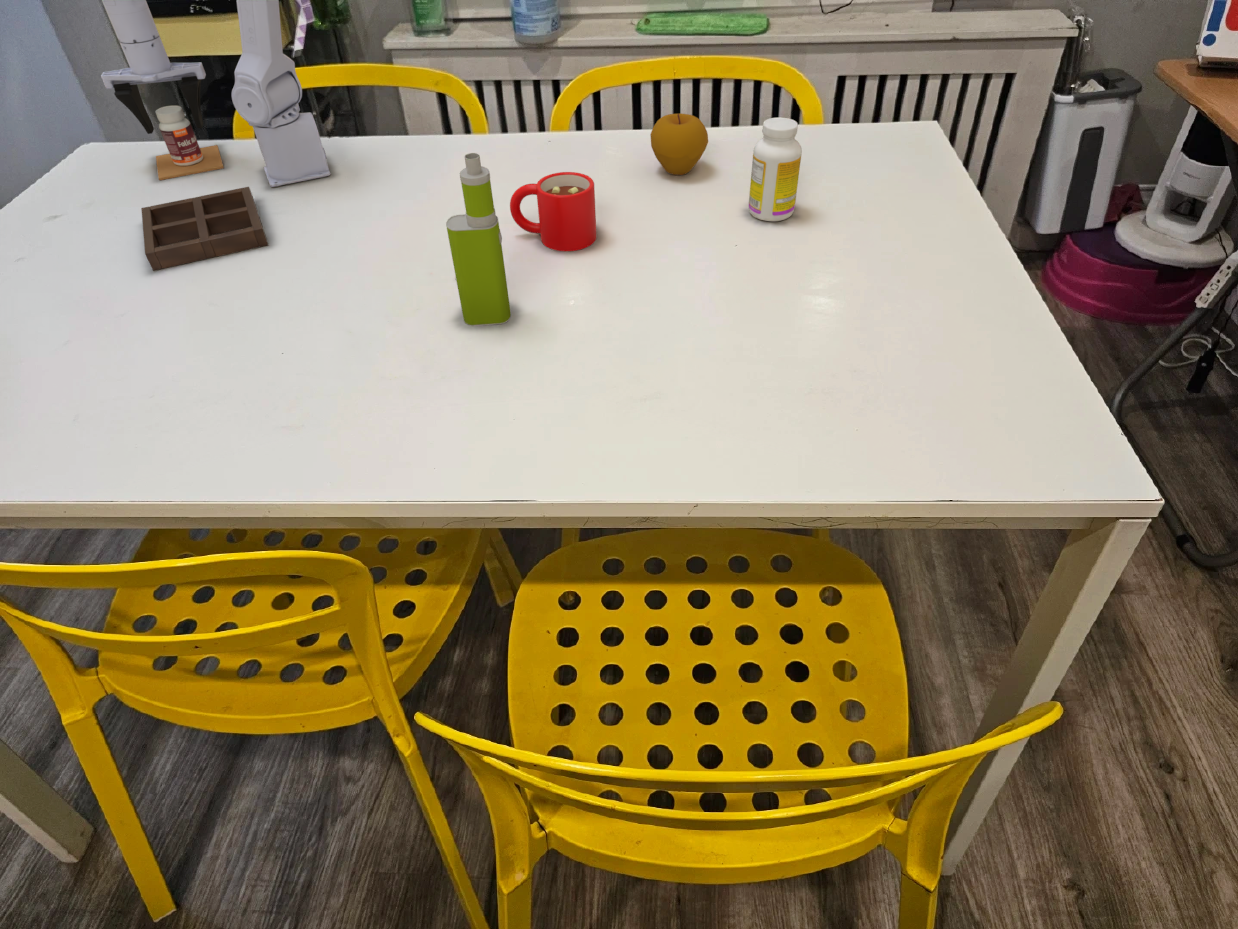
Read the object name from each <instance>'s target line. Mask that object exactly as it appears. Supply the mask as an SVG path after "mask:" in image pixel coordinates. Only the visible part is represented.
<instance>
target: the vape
mask: <svg viewBox="0 0 1238 929" xmlns="http://www.w3.org/2000/svg"><path fill="white" fill-rule="evenodd" d="M463 157H464V163H465V168H462V169H460V171H459V179H460V184H461V189H462V190H461V191H462V196H463V202H464V209H465V214H455V215H452V216H450V217H448V219H446V222H445V227H446V231H447V236H448V242H449V248H450V253H451V260H452V264H453V269H454V275H455V280H456V285H457V292H458V297H459V302H460V308H461V314H462V318H463V322H464V324H466V325H467V326H470V327H478V326H492V325H493V326H494V325H495V326H496V325H503V324H506V323H507V322H509V320H510V319H511V317H512V313H511V311H512V310H511V305H510V304H511V303H510V297H509V289H508V282H507V275H506V274H507V273H506V267H505V260H504V251H503V245H502V242H503V236H502V232H501V228H500V222H499V217H498V216H497V214H496V209H495V205H494V198H493V197H494V196H493V190H492V183H491V173H490V170H489V168H488V167H485V166H482V164H481V156H480V154H479V153H477V152H469V153H467V154H465V155H464V156H463Z"/></svg>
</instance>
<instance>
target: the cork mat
mask: <svg viewBox="0 0 1238 929" xmlns="http://www.w3.org/2000/svg"><path fill="white" fill-rule="evenodd" d="M200 150H201V153H202V155H203V159H202V161H200V162H198V163H196V164H193V165H189V166H179V165H176V164H174V162H173V160H172V158H171V155H170V153H166V154H161V155H156V156H155V161H156V169H157V177H158V180H159V181H165V180H171V179H175V178H180V177H184V176H190V175H195V174H200V173H207V172H210V171H216V170H222V169H224V168H225V167H224V163H223V160H222V157H221V153H220V152H221V151H220V149H219V145H218V144H215V145H210V146H203V147H200Z"/></svg>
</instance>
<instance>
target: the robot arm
mask: <svg viewBox="0 0 1238 929" xmlns="http://www.w3.org/2000/svg"><path fill="white" fill-rule="evenodd" d="M101 3H102V5H103V7H104V9H105V12H106V14H107V16H108V19H109V22H110V24H111V26H112V29H113V31H114V34H115V36H116V39H118V40H117V41H118V43H119V44H120V47H121V49H122V51H123V54H124V56H125V59H126V61H127V64H128V66H129V67H125V68H119V69H114V70H109V71H103V72H101V75H100V78H101V80H102V82H103V85H104V87H105V89H106V90H109V89H113V90H114V93H113V94H114V96H115V98H116V99H117V100H118V101H119V102H120V103H122V104H123V105H124V107H126V108H127V109H128V110H129V111H130V112H131V113H132V114H133V116H134V117H135V118H136V119H137V121H139V123H140V124H141V126H142V127H143V129H144V130H145V132H146V133H147V134H148V135H151V134H153V133H154V130H155V128H154V125H153V121H152V119H151V117H150V115H149V113H148V110H147V109H146V106H145V104H144V102H143V98H142V96H141V92H140V90H139V86H138V85H144V84H154V83H163V82H164V83H165V82H174V81H181V83H180V85H179V88H180V90H181V92H182V94H183V96H184V98H185V100H186V102H187V104H188V106H189V109H190V112H191V115H192V117H193V121H194V124H195V126H196V128H197V129H202V128H203V126H204V120H203V116H202V109H201V83H202V80H205V79H206V76H207V74H206V71H205V68H204V66H203V63H202V61H201V62H171V61H170V59H169V56H168V54H167V51H166V49H165V48H166V47H165V46H164V43H163V41H162V38H161V35H160V33H159V30H158V28H157V25H156V23H155V20H154V18H153V15H152V12H151V10H150V8H149V5H148V2H147V0H101ZM236 9H237V16H238V25H239V35H240V41H241V51H242V52H241V55H240V57H239V59H238V62H237V64H236V66H235V69H234V72H233V74H234V85H233V88H232V89H231V100H232V105H233V107H234V108H235V110H236V112H237V113H238V115H239V116H240V117H241V118H242V119H243V120H244V121H246V122H247V123H248V125H249V126H250V127H252V129H253V131H254V134H255V138H256V141H257V144H258V147H259V150H260V153H261V156H262V158H263V161H264V164H265V166H264V167H263V170H264V173H265V176H266V179H267V181H268V183H269V186H270V187H271V188H275V187H279V186H285V185H290V184H293V183H299V182H304V181H310V180H315V179H319V178H320V179H321V178H324V177H329V176H331V171H330V168H329V164H328V161H327V160H328V157H327V152H326V149H325V148H324V147H323V143H322V140H321V136H320V133H319V130H318V126H317V124H316V121H315V118H314V116H313V113H312V112H300V111H301V108H300V106H299V104H300V102H301V100H302V98H303V88H302V84H301V81H300V80H299V77H298V75H297V72H296V64H295V61H294V60H293V59H292V58H290V57H289V56H288V55H286V54H285V53H284V51H283V40H282V26H281V14H280V1H279V0H236Z"/></svg>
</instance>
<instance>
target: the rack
mask: <svg viewBox="0 0 1238 929" xmlns="http://www.w3.org/2000/svg"><path fill="white" fill-rule="evenodd" d="M140 210H141V220H142V221H141V222H142V232H143V244H144V245H143V246H144V255H145V257H146V259H147V262H148V263H149V265H150V267H151V269H152V271H159V270H162V269H167V268H172V267H176V266H181V265H185V264H190V263H195V262H198V261H203V260H208V259H212V258H216V257H221V256H225V255H231V254H234V253H240V252H243V251H248V250H252V249H258V248H262V247H267V246H269V242H268V239H267V237H266V234H265V230H264V226H263V223H262V221H261V218H260V215H259V211H258V208H257V205H256V201H255V198H254V196H253V194H252V191H251V188H250V186H245V187H244V186H243V187H239V188H235V189H234V188H233V189H230V190H224V191H220V192H215V193H209V194H205V195H200V196H195V197H190V198H185V199H181V200H175V201H169V202H164V203H160V204H154V205H150V206H146V207H141V209H140Z"/></svg>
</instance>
